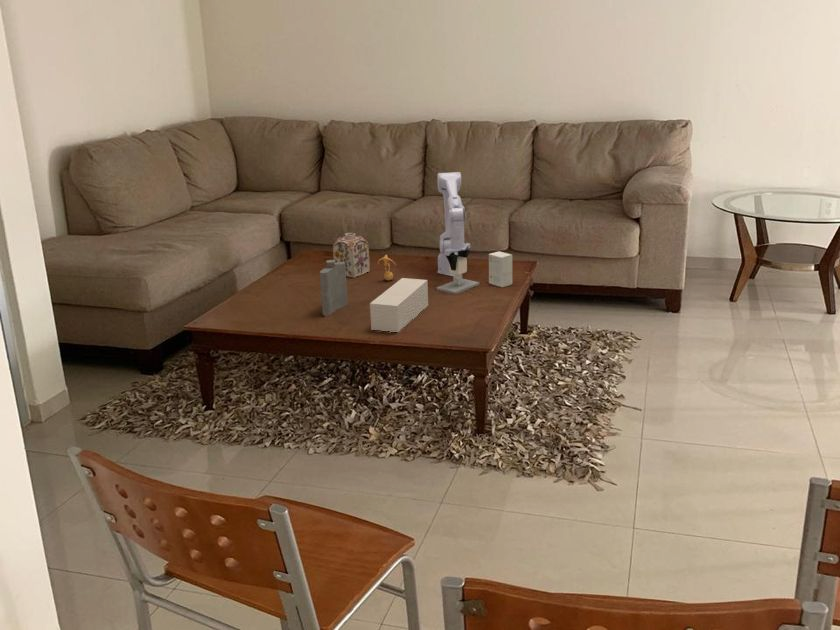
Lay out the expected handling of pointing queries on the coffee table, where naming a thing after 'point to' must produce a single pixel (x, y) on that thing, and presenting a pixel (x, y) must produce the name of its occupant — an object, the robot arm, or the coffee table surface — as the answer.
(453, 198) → the robot arm
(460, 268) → the beige cardboard cube
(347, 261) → the decorative jar
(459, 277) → the post
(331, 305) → the hip flask
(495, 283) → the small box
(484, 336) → the coffee table surface
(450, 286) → the base board
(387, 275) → the figurine
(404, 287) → the long white block
